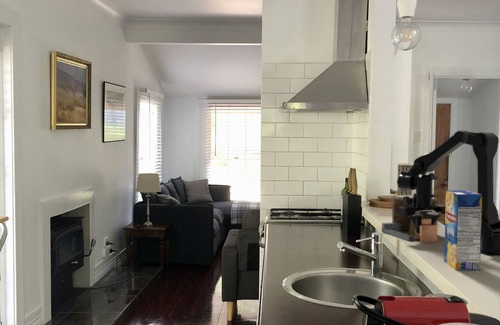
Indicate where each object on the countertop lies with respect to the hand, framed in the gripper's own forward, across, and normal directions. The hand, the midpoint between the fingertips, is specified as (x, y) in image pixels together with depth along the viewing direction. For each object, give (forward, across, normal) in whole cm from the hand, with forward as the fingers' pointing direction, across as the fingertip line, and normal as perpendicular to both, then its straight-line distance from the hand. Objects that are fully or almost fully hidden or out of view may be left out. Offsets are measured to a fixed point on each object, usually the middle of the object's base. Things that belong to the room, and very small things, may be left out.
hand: (423, 233), depth 200 cm
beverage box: (+3, +12, +37) cm, 39 cm away
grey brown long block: (+2, +1, -7) cm, 8 cm away
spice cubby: (+2, -6, -15) cm, 16 cm away
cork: (+3, -6, -13) cm, 15 cm away
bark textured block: (+3, -25, -53) cm, 59 cm away
